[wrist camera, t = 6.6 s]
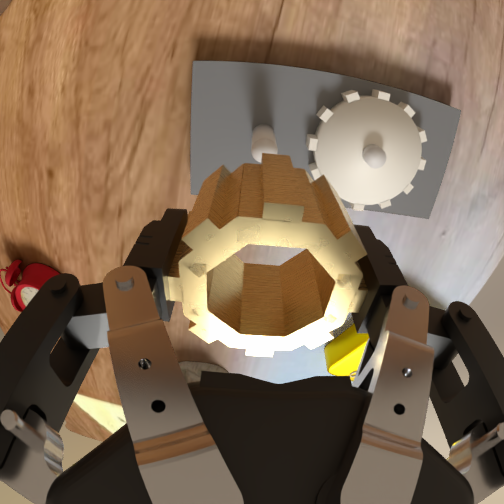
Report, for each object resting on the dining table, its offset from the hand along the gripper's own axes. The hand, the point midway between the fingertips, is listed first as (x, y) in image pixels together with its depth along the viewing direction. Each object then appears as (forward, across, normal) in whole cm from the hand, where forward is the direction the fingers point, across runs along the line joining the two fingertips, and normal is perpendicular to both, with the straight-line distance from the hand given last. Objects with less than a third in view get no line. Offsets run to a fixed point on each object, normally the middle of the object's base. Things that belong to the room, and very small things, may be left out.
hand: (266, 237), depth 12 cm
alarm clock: (+18, +31, +23) cm, 42 cm away
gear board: (+17, -6, 0) cm, 18 cm away
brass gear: (+1, 0, 0) cm, 1 cm away
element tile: (+18, -22, +28) cm, 40 cm away
